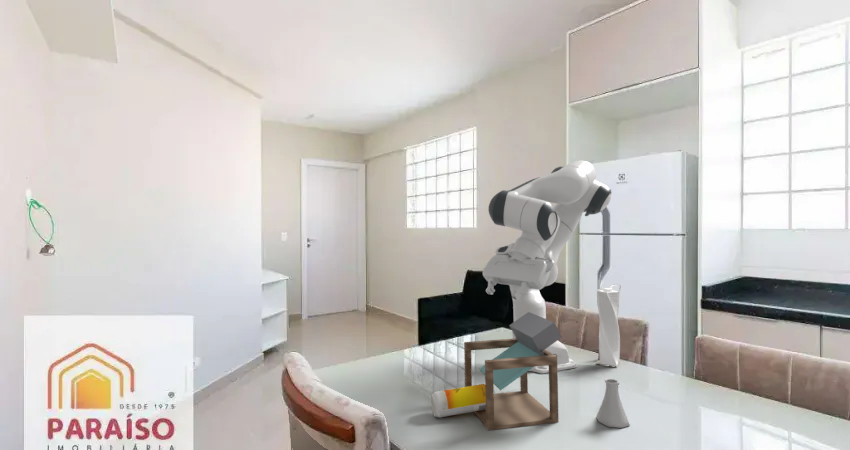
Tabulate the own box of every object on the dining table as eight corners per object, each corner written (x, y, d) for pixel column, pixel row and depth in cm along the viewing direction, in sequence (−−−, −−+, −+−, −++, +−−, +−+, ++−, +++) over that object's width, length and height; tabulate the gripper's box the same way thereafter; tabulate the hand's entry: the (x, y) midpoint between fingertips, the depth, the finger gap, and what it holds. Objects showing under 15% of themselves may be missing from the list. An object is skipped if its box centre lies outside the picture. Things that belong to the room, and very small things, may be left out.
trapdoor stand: (525, 393, 117) (524, 337, 117) (558, 421, 99) (557, 356, 100) (465, 399, 113) (464, 342, 114) (488, 430, 96) (487, 362, 96)
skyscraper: (624, 362, 143) (622, 283, 144) (621, 369, 136) (619, 286, 137) (598, 359, 147) (596, 282, 148) (595, 365, 141) (593, 284, 141)
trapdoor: (539, 330, 116) (528, 311, 116) (565, 343, 103) (554, 322, 102) (481, 371, 112) (469, 352, 112) (500, 390, 99) (487, 368, 98)
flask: (591, 415, 102) (590, 376, 103) (618, 414, 103) (618, 374, 103) (606, 429, 95) (605, 386, 95) (635, 428, 96) (634, 385, 96)
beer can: (485, 378, 107) (430, 387, 104) (493, 396, 102) (435, 406, 99) (484, 394, 110) (430, 404, 107) (492, 413, 104) (435, 423, 102)
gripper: (561, 267, 107) (538, 309, 102) (503, 261, 124) (481, 297, 118) (550, 251, 105) (526, 293, 99) (493, 247, 121) (469, 283, 115)
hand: (501, 295), depth 109 cm, fingers open, 8 cm apart
